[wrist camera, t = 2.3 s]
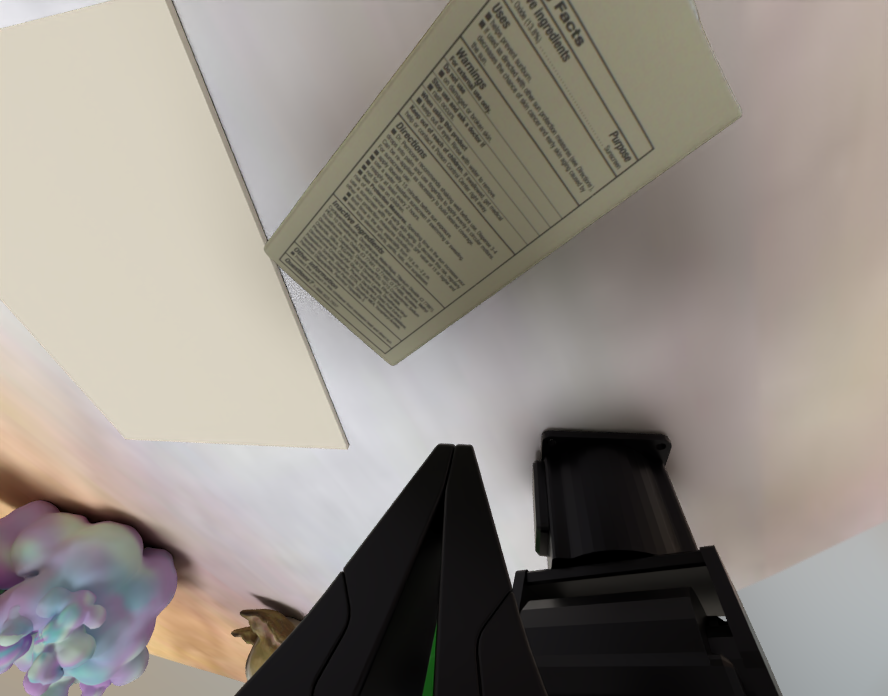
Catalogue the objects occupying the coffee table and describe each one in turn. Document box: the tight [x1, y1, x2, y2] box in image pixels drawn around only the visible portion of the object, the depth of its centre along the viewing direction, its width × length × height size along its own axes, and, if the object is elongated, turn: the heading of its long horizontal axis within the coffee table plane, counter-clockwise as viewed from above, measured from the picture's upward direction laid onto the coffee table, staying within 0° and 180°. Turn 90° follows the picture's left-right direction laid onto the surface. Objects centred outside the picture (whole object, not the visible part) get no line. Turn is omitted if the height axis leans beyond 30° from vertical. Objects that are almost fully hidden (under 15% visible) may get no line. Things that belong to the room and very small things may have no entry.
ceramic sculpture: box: [231, 609, 301, 681], centre depth 44 cm, size 11×9×15 cm
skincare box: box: [264, 0, 742, 366], centre depth 12 cm, size 6×4×12 cm
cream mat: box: [0, 0, 349, 450], centre depth 20 cm, size 18×22×1 cm
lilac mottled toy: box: [0, 500, 177, 696], centre depth 34 cm, size 20×22×18 cm
